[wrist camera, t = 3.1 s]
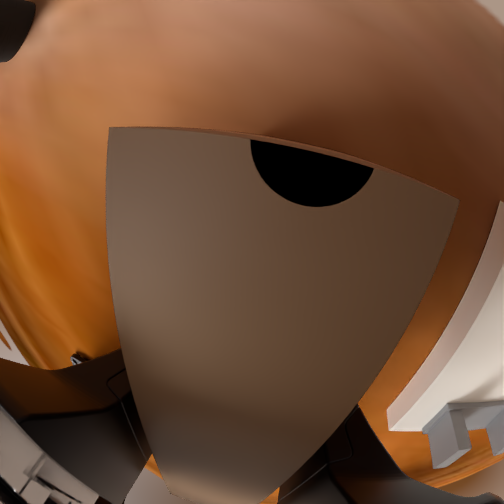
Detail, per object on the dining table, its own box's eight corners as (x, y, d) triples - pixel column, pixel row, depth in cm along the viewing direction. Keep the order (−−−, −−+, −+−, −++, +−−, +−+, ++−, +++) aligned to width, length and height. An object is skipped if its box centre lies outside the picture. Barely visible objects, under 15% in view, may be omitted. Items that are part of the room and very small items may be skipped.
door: (274, 397, 13) (242, 515, 7) (220, 382, 13) (170, 493, 7) (351, 155, 8) (460, 199, 2) (260, 134, 8) (109, 127, 2)
